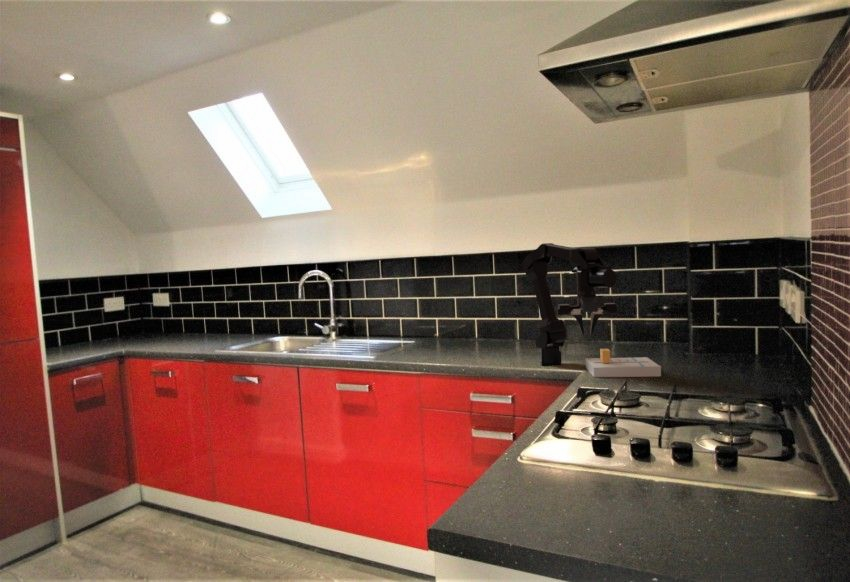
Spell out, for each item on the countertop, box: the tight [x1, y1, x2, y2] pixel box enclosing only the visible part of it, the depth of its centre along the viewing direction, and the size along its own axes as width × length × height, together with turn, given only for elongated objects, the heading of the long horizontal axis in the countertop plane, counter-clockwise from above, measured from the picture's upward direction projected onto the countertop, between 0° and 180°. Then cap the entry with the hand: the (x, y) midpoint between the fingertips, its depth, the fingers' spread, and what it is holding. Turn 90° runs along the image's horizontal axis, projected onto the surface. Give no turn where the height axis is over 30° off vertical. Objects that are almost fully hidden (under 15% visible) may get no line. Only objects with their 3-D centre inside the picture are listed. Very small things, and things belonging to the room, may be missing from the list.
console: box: [584, 356, 662, 378], centre depth 189 cm, size 20×16×3 cm
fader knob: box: [599, 348, 611, 363], centre depth 189 cm, size 2×4×6 cm, turn 174°
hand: (587, 335), depth 189 cm, fingers closed
